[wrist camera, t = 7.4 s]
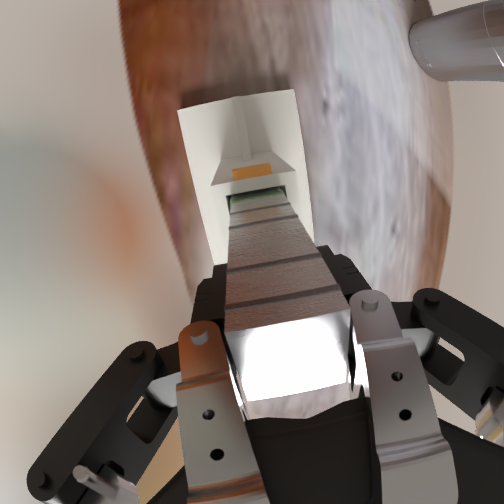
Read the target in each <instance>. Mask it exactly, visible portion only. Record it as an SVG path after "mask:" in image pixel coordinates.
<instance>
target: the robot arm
mask: <svg viewBox="0 0 504 504" xmlns="http://www.w3.org/2000/svg"><path fill="white" fill-rule="evenodd" d="M409 42H410V46H411V50H412V52H413V55H414V57H415V59H416V61H417V62H418V64H419V65H420V66H421V68H422V69H423V70H424V71H425V72H426V73H427V74H428V75H430V76H431V77H432V78H434V79H436V80H439V81H501V82H504V0H489V1H484V2H480V3H476V4H472V5H468V6H465V7H461V8H458V9H454V10H451V11H448V12H445V13H442V14H439V15H435V16H432V17H430V18H427V19H424V20H421V21H419V22H417V23H415V24H414V25H413V26H412V28H411V30H410V34H409ZM316 248H317V249H318V251H319V252H321V254H322V258H323V260H324V261H325V263H326V265H327V267H328V268H329V270H330V272H331V274H332V275H333V277H334V279H335V281H336V283H337V284H339V285H340V287H341V292H342V293H343V295H344V297H345V299H346V301H347V303H348V305H349V306H350V308H351V313H350V331H349V345H348V357H347V372H348V381H349V392H350V400H349V401H345V402H342V403H340V404H338V405H336V406H334V407H332V408H330V409H328V410H326V411H324V412H322V413H319V414H317V415H315V416H313V417H310V418H307V419H290V418H270V417H266V418H259V419H251V420H250V418H249V416H248V412H247V409H246V406H245V403H244V399H243V396H242V393H241V390H240V386H239V383H238V380H237V377H236V374H237V372H236V365H235V362H234V360H233V357H232V354H231V351H230V348H229V345H228V342H227V339H226V336H225V333H224V330H225V312H224V305H225V304H226V281H227V276H226V269H227V263H225V264H220V265H214V268H213V275H212V278H207V279H203V281H202V282H201V283H200V284H199V286H198V287H197V292H196V297H195V303H194V307H193V313H192V318H191V323H190V324H189V325H188V326H186V327H185V328H184V329H183V330H182V331H181V332H180V334H179V337H178V342H176V343H174V344H172V345H169V346H166V347H163V348H160V349H158V350H157V349H156V348H155V346H154V345H153V344H152V343H151V342H148V341H139V342H135V343H133V344H131V345H129V346H128V347H126V348H125V349H124V350H123V351H122V352H121V354H120V355H119V356H118V357H117V358H116V360H115V361H114V362H113V363H112V365H111V366H110V367H109V368H108V369H107V370H106V372H105V373H104V374H103V375H102V376H101V378H100V379H99V380H98V381H97V383H96V384H95V385H94V386H93V388H92V389H91V390H90V391H89V392H88V394H87V395H86V396H85V397H84V399H83V400H82V401H81V402H80V404H79V405H78V406H77V407H76V409H75V410H74V411H73V412H72V414H71V415H70V416H69V418H68V419H67V420H66V421H65V423H64V424H63V425H62V427H61V428H60V429H59V430H58V432H57V433H56V434H55V436H54V437H53V438H52V440H51V441H50V442H49V444H48V445H47V446H46V448H45V449H44V450H43V452H42V453H41V454H40V456H39V457H38V458H37V460H36V461H35V462H34V464H33V465H32V466H31V468H30V469H29V471H28V474H27V486H28V490H29V492H30V493H31V495H32V496H33V497H34V498H35V499H37V500H39V501H41V502H43V503H45V504H139V503H140V501H139V498H138V492H137V489H136V487H135V486H136V484H137V483H138V481H139V479H140V478H141V476H142V475H143V473H144V471H145V470H146V468H147V466H148V465H149V463H150V462H151V460H152V458H153V457H154V455H155V453H156V452H157V450H158V448H159V447H160V445H161V443H162V442H163V440H164V439H165V437H166V435H167V434H168V432H169V430H170V429H171V427H172V425H173V423H174V422H175V420H176V419H177V417H178V418H179V427H180V435H181V443H182V450H183V457H184V464H185V465H184V466H183V467H182V468H181V469H180V470H179V472H177V474H176V475H175V476H174V477H173V478H172V479H171V480H170V481H169V482H168V483H167V484H166V485H165V486H164V487H163V488H162V489H161V490H160V491H159V492H158V493H157V494H156V495H155V496H154V497H153V498H152V499H151V500H150V501H149V502H148V503H147V504H504V327H502V326H500V325H499V324H497V323H495V322H494V321H492V320H491V319H489V318H487V317H486V316H484V315H482V314H481V313H479V312H477V311H475V310H474V309H472V308H470V307H469V306H467V305H465V304H463V303H462V302H460V301H458V300H456V299H455V298H453V297H451V296H449V295H448V294H446V293H444V292H442V291H440V290H438V289H434V288H424V289H421V290H418V291H417V292H416V293H415V294H414V296H413V301H412V302H390V299H389V298H388V296H387V295H385V294H384V293H382V292H380V291H377V290H372V289H371V287H370V286H369V284H368V283H367V282H366V280H365V279H364V277H363V276H362V275H361V273H360V272H359V270H358V269H357V268H356V267H355V265H354V263H353V262H352V261H351V259H349V258H348V257H346V256H344V255H342V254H339V255H334V254H333V252H332V251H331V249H330V248H329V246H328V245H324V246H319V247H316ZM440 337H441V338H442V339H444V340H445V341H447V342H448V343H450V344H451V345H453V346H454V347H456V348H457V349H458V350H460V351H461V352H462V353H463V355H464V358H465V362H464V361H462V360H461V359H459V358H458V357H457V356H455V355H454V354H452V353H451V352H449V351H448V350H446V349H445V348H444V347H442V346H441V345H439V344H438V342H439V339H440ZM428 384H429V385H431V386H432V387H433V388H435V389H436V390H437V391H438V392H440V393H441V394H442V395H443V396H445V397H446V398H447V399H449V400H450V401H451V402H452V403H453V404H455V405H456V406H458V407H459V408H460V409H461V410H462V411H464V412H465V413H466V414H468V415H469V416H470V417H471V418H472V419H474V420H475V425H476V430H475V435H474V434H472V433H470V432H468V431H465V430H463V429H461V428H459V427H457V426H454V425H452V424H450V423H448V422H446V421H444V420H442V419H440V418H438V417H437V413H436V409H435V406H434V402H433V399H432V395H431V391H430V388H429V385H428ZM141 396H143V397H144V399H143V400H142V401H141V403H140V404H139V406H138V408H137V409H136V410H135V412H134V413H133V414H132V416H131V417H130V419H129V420H128V422H127V423H126V421H127V417H128V415H129V413H130V411H131V410H132V409H133V407H134V406H135V404H136V403H137V402H138V400H139V399H140V397H141Z"/></svg>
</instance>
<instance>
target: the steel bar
mask: <svg viewBox="0 0 504 504" xmlns="http://www.w3.org/2000/svg"><path fill="white" fill-rule="evenodd" d="M230 205H231V209H230V214H229V215H230V225H229V242H228V261H227V269H226V276H227V281H226V304H225V305H224V312H225V330H224V333H225V336H226V339H227V342H228V345H229V348H230V351H231V354H232V357H233V360H234V362H235V365H236V368H237V371H238V374H239V377H240V379H241V382H242V385H243V388H244V390H245V393H246V396H247V399H248V401H249V400H257V399H264V398H270V397H276V396H282V395H288V394H293V393H299V392H304V391H308V390H313V389H318V388H322V387H326V386H331V385H335V384H339V383H343V382H345V377H346V368H347V357H348V345H349V331H350V313H351V308H350V306H349V305H348V303H347V301H346V299H345V297H344V295H343V293H342V292H341V287H340V285H339V284H337V283H336V281H335V279H334V277H333V275H332V274H331V272H330V270H329V268H328V267H327V265H326V263H325V261H324V260H323V258H322V254H321V252H319V251H318V249H317V248H316V246H315V244H314V243H313V241H312V239H311V238H310V236H309V234H308V233H307V231H306V229H305V228H304V226H303V224H302V223H301V221H300V219H299V217H298V214H296V213H295V211H294V210H293V208H292V206H291V203H290V202H288V200H287V198H286V197H285V195H284V192H283V190H282V189H280V187H279V186H275V187H270V188H264V189H258V190H253V191H247V192H242V193H237V194H231V199H230Z"/></svg>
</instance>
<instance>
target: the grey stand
mask: <svg viewBox="0 0 504 504" xmlns="http://www.w3.org/2000/svg"><path fill="white" fill-rule="evenodd" d="M177 111H178V116H179V121H180V126H181V130H182V135H183V139H184V144H185V148H186V153H187V157H188V161H189V166H190V170H191V174H192V179H193V183H194V187H195V191H196V195H197V199H198V203H199V207H200V211H201V215H202V219H203V223H204V227H205V231H206V235H207V238H208V242H209V246H210V250H211V253H212V257H213V261H214V265H215V264H221V263H226V262H227V261H228V242H229V225H230V215H229V214H230V209H231V205H230V199H231V194H237V193H242V192H247V191H253V190H258V189H264V188H270V187H275V186H279V187H280V189H282V190H283V192H284V195H285V197H286V198H287V200H288V202H290V203H291V206H292V208H293V210H294V211H295V213H296V214H298V217H299V219H300V221H301V223H302V224H303V226H304V228H305V229H306V231H307V233H308V234H309V236H310V238H311V239H312V241H313V243H314V233H313V222H312V212H311V203H310V194H309V186H308V177H307V170H306V162H305V155H304V148H303V141H302V134H301V128H300V122H299V115H298V109H297V104H296V98H295V92H294V89H291V90H281V91H273V92H266V93H259V94H252V95H246V96H235V97H231V98H229V99H224V100H219V101H214V102H210V103H205V104H201V105H197V106H193V107H189V108H185V109H181V110H177Z"/></svg>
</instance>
